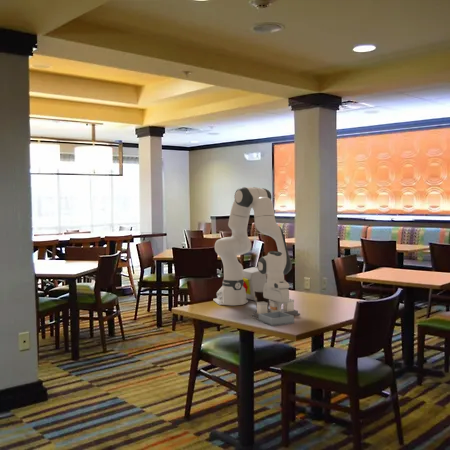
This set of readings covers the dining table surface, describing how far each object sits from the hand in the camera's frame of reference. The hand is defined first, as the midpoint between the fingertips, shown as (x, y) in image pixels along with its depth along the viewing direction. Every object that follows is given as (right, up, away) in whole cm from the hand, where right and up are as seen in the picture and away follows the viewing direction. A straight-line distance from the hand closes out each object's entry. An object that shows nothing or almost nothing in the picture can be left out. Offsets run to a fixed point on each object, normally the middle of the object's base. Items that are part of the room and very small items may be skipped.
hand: (275, 309), depth 275 cm
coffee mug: (-5, -3, +20) cm, 21 cm away
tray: (-1, -4, -14) cm, 14 cm away
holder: (0, -3, 0) cm, 3 cm away
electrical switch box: (-10, -2, +46) cm, 48 cm away
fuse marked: (0, -3, 0) cm, 3 cm away
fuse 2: (+7, -2, +4) cm, 8 cm away
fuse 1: (-7, -3, -3) cm, 8 cm away
